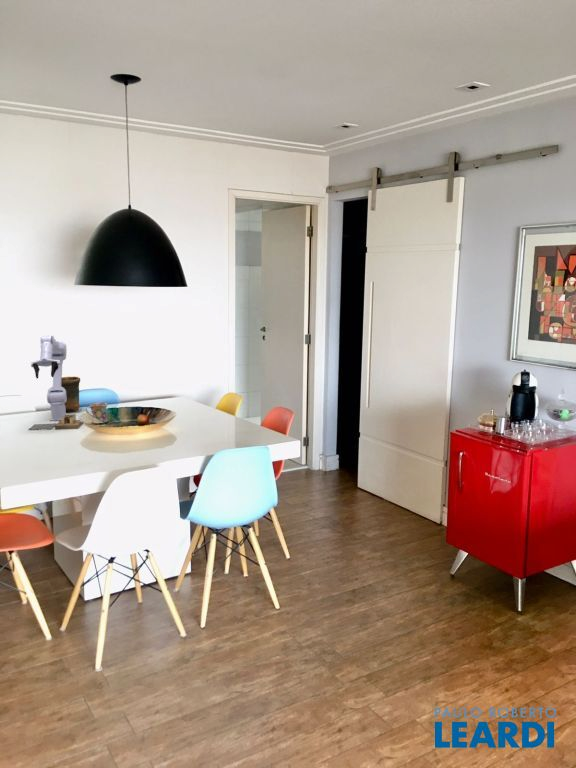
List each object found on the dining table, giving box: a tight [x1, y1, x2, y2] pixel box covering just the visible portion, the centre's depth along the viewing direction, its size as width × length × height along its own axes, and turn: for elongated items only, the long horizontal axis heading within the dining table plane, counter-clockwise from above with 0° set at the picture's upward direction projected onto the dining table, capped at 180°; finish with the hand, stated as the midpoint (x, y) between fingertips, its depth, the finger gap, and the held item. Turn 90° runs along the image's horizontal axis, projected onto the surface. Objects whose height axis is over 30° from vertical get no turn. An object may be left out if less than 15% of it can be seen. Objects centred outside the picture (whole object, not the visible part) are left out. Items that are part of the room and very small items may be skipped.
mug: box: [85, 401, 109, 423], centre depth 363 cm, size 12×9×11 cm
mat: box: [27, 422, 58, 431], centre depth 358 cm, size 12×12×1 cm
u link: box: [60, 414, 77, 425], centre depth 357 cm, size 8×6×4 cm
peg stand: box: [54, 417, 84, 431], centre depth 358 cm, size 12×12×5 cm
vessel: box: [61, 376, 81, 415], centre depth 395 cm, size 14×14×20 cm
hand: (44, 376), depth 344 cm, fingers open, 7 cm apart
